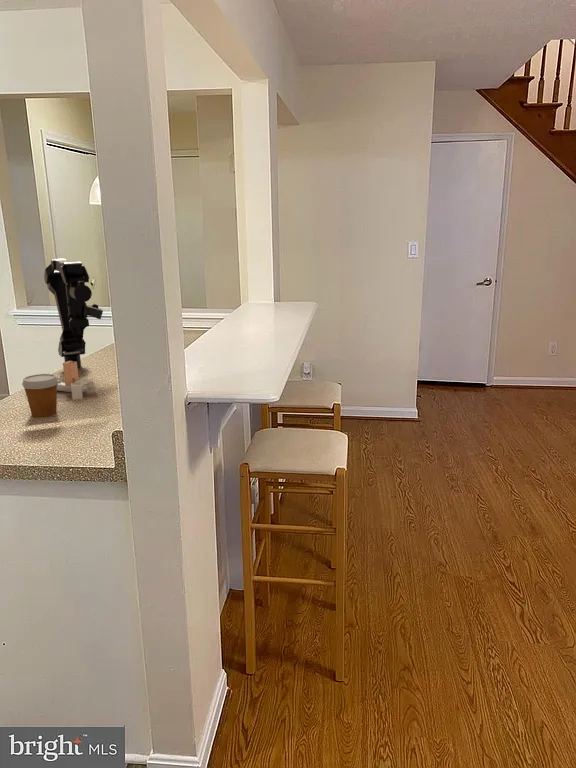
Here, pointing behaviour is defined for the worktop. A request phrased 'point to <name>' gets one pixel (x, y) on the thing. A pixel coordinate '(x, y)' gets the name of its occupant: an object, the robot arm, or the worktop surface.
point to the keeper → (78, 388)
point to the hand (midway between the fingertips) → (80, 343)
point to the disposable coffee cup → (41, 394)
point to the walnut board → (88, 394)
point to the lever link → (69, 377)
